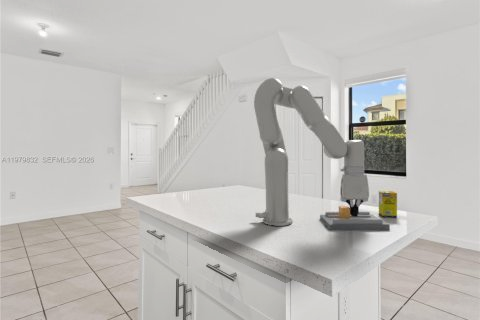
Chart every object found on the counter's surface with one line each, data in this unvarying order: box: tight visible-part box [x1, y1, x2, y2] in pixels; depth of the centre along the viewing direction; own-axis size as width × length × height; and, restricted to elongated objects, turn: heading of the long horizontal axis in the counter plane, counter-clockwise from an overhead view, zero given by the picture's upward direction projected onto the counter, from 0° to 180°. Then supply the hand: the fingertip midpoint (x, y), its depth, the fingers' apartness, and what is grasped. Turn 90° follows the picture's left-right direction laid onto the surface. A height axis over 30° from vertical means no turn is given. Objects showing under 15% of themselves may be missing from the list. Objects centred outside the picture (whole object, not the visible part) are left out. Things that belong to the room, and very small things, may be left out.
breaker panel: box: [319, 213, 391, 231], centre depth 111 cm, size 22×16×3 cm
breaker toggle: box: [338, 205, 350, 219], centre depth 111 cm, size 3×5×5 cm, turn 176°
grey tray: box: [324, 210, 384, 224], centre depth 111 cm, size 18×14×2 cm
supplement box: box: [378, 190, 398, 219], centre depth 123 cm, size 6×6×11 cm
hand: (354, 215), depth 111 cm, fingers closed
